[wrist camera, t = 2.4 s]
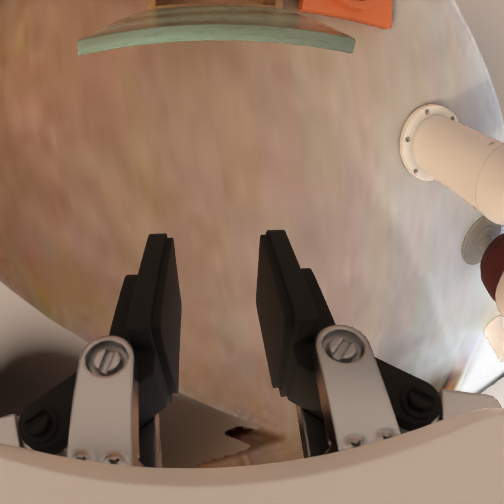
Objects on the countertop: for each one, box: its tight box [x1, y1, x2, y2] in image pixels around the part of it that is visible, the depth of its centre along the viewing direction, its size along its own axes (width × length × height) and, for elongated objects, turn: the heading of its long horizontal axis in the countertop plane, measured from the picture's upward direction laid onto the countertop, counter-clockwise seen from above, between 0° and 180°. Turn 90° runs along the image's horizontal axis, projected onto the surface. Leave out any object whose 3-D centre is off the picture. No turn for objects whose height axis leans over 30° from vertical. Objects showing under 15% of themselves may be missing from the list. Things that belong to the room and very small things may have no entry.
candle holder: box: [484, 316, 504, 362], centre depth 71 cm, size 10×10×12 cm
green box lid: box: [77, 5, 355, 55], centre depth 16 cm, size 16×13×1 cm
